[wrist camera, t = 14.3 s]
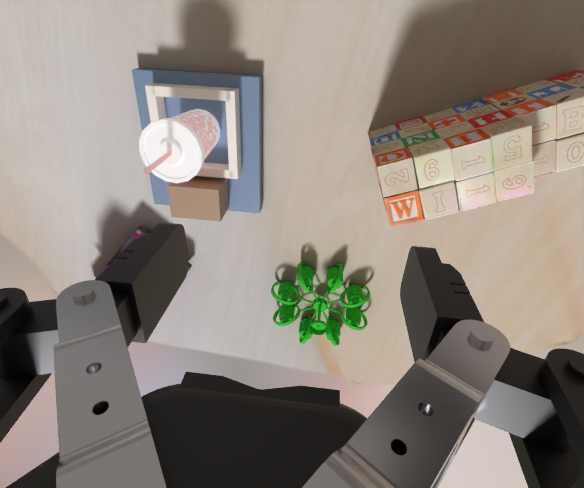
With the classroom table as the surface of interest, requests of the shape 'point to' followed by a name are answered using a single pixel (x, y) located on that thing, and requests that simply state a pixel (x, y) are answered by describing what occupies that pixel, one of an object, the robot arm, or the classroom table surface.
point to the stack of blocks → (480, 150)
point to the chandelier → (320, 304)
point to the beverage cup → (179, 145)
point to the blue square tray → (229, 149)
